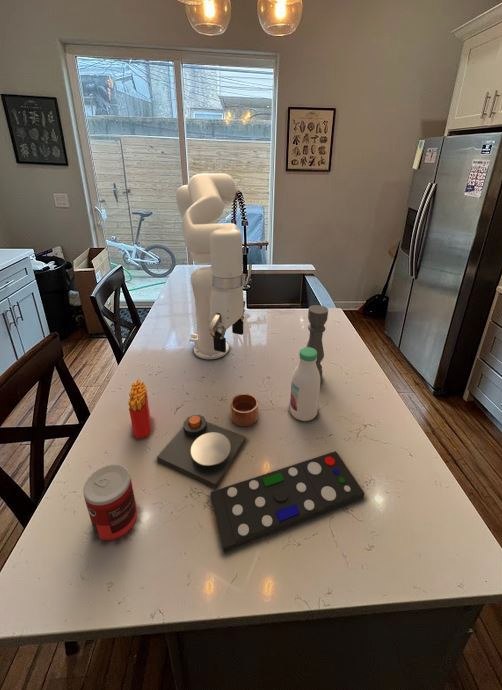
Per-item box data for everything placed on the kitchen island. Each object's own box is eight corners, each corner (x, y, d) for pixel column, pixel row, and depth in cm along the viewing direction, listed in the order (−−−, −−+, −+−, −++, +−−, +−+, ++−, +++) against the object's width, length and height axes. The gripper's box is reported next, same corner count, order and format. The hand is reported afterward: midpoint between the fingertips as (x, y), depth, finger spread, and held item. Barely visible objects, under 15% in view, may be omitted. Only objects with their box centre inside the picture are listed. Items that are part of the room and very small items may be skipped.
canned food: (102, 503, 67) (92, 465, 63) (142, 500, 68) (135, 462, 64) (87, 544, 60) (74, 504, 56) (131, 541, 61) (123, 501, 57)
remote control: (363, 497, 70) (364, 491, 69) (224, 552, 60) (223, 545, 59) (335, 455, 79) (336, 449, 78) (211, 496, 69) (210, 490, 68)
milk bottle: (319, 405, 95) (325, 346, 87) (314, 425, 88) (320, 362, 80) (293, 399, 97) (297, 341, 89) (286, 417, 90) (290, 356, 82)
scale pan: (182, 457, 74) (182, 455, 74) (205, 428, 82) (205, 427, 82) (217, 472, 71) (217, 471, 71) (237, 441, 79) (237, 440, 79)
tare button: (187, 426, 83) (186, 421, 83) (193, 418, 86) (193, 414, 85) (196, 429, 82) (196, 425, 82) (202, 422, 85) (202, 417, 84)
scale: (157, 461, 77) (156, 451, 76) (192, 420, 89) (192, 411, 87) (215, 488, 71) (215, 479, 70) (245, 440, 83) (245, 431, 81)
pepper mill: (321, 386, 102) (328, 315, 93) (301, 383, 104) (306, 312, 94) (321, 374, 108) (329, 305, 98) (303, 371, 109) (308, 303, 99)
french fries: (134, 417, 89) (127, 378, 84) (151, 414, 90) (145, 375, 85) (133, 444, 81) (125, 403, 76) (151, 440, 82) (145, 399, 77)
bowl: (225, 421, 88) (225, 407, 86) (238, 404, 95) (238, 390, 93) (250, 431, 86) (250, 416, 84) (262, 412, 92) (262, 398, 90)
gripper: (230, 268, 89) (232, 325, 95) (194, 290, 74) (198, 355, 80) (255, 272, 86) (255, 330, 92) (223, 295, 71) (226, 362, 78)
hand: (229, 341), depth 86 cm, fingers open, 9 cm apart
